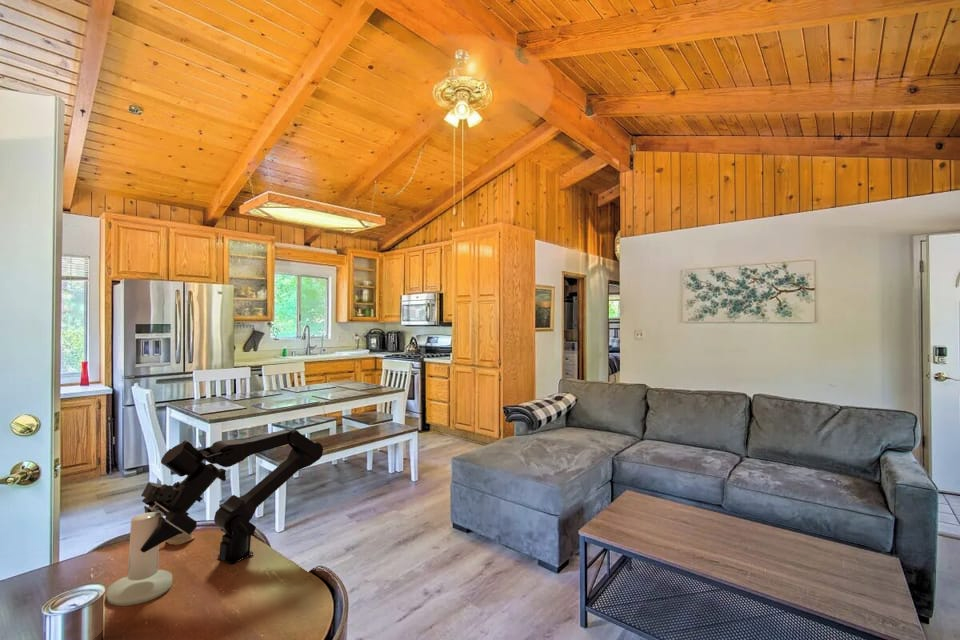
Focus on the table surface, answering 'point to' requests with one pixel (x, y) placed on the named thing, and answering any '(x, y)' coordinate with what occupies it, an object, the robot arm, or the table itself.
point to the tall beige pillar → (139, 561)
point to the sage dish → (139, 589)
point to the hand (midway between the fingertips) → (137, 547)
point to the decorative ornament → (180, 538)
